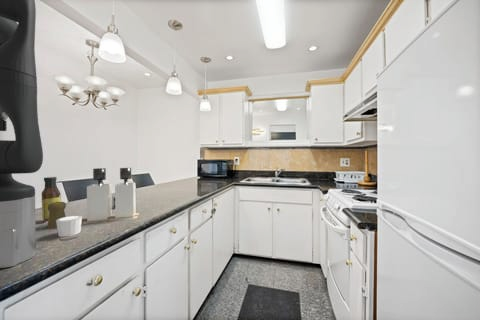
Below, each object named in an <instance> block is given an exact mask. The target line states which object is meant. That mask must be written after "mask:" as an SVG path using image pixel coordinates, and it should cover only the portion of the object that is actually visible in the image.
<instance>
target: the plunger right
mask: <svg viewBox="0 0 480 320" xmlns="http://www.w3.org/2000/svg"><path fill="white" fill-rule="evenodd" d="M119 179H120V180H123V183H124V185H127V184H128V183H129V182H128V181H129V180H131V179H132V167H119Z"/></svg>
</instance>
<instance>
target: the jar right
mask: <svg viewBox="0 0 480 320" xmlns="http://www.w3.org/2000/svg"><path fill="white" fill-rule="evenodd" d="M136 187H137V186H136V182H128V184H127V185H124V182H120V183H119V182H118V183H117V184H115V185H114V195H115V208H114V210H115V212H114V215H115V219H124V218H133V217H134V216H135V214H136V212H137V209H136V208H137V206H136V205H137V204H136V202H137V200H136V198H137V197H136V196H137V195H136V192H137V191H136V189H137V188H136Z"/></svg>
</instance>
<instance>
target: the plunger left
mask: <svg viewBox="0 0 480 320" xmlns="http://www.w3.org/2000/svg"><path fill="white" fill-rule="evenodd" d="M106 169H107V168H105V167H103V168H101V167H99V168H92V173H93V174H92V177H93V178H92V179H93V181H97V184H98V186H102V184H103V183H102V181H105V180H107V177H106V176H107V175H106V171H107V170H106Z"/></svg>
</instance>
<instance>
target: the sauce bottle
mask: <svg viewBox="0 0 480 320" xmlns="http://www.w3.org/2000/svg"><path fill="white" fill-rule="evenodd" d="M57 179H58V178H57V176H47V177H46V176H45V177H43V181H44V188H43V190H42V191H41V215H42V222H43V223H48V219H49V213H50V211H49V210H48V205H49V204H50V203H53V202H62V194H61V191H60V190H59V188H58V186H57Z"/></svg>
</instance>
